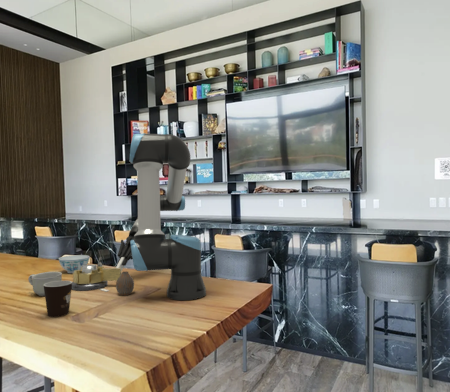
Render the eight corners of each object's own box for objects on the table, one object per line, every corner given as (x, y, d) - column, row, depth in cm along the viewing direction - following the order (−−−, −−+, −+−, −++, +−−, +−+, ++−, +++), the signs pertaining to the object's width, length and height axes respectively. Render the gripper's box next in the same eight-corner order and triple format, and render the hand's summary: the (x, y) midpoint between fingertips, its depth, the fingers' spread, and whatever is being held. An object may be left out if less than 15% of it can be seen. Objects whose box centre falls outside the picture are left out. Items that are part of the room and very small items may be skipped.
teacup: (67, 292, 146) (67, 272, 146) (44, 299, 136) (44, 278, 136) (44, 288, 151) (44, 270, 152) (20, 295, 142) (20, 275, 142)
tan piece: (69, 284, 148) (69, 271, 148) (80, 277, 161) (80, 266, 161) (116, 283, 149) (116, 270, 149) (124, 276, 161) (124, 265, 161)
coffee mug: (53, 319, 112) (53, 288, 112) (38, 315, 116) (38, 284, 116) (85, 309, 121) (85, 280, 122) (70, 306, 126) (70, 277, 126)
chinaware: (69, 269, 195) (69, 254, 195) (94, 269, 193) (94, 255, 193) (52, 274, 180) (52, 259, 180) (80, 275, 178) (79, 259, 178)
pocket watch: (82, 279, 169) (81, 258, 169) (94, 275, 177) (94, 255, 177) (95, 280, 166) (95, 259, 166) (107, 276, 174) (107, 256, 174)
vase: (129, 296, 137) (128, 274, 137) (112, 296, 139) (112, 273, 139) (137, 292, 144) (136, 270, 144) (121, 291, 145) (121, 270, 146)
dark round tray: (104, 289, 148) (104, 268, 148) (66, 291, 146) (66, 269, 146) (110, 281, 163) (110, 262, 163) (75, 283, 161) (75, 263, 161)
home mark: (109, 291, 146) (109, 290, 146) (106, 291, 145) (106, 291, 145) (102, 289, 149) (102, 288, 149) (99, 289, 148) (99, 289, 148)
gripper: (153, 235, 175) (133, 276, 159) (131, 235, 180) (110, 274, 164) (147, 225, 170) (126, 266, 154) (124, 225, 175) (102, 265, 159)
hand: (117, 270), depth 159 cm, fingers closed
